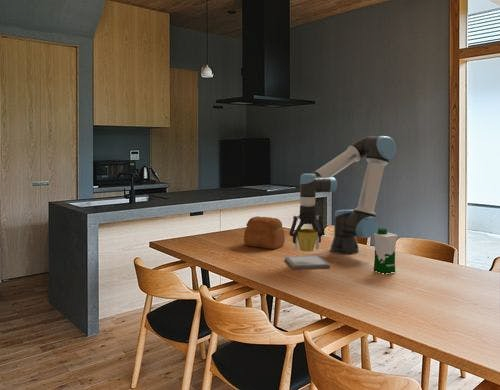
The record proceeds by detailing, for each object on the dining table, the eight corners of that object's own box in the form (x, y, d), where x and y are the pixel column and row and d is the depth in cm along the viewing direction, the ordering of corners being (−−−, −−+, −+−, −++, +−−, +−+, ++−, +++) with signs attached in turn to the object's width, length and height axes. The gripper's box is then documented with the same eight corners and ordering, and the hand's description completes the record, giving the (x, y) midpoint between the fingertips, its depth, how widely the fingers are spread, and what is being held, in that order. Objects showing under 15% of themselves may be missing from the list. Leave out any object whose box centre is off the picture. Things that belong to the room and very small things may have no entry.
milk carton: (384, 268, 215) (385, 227, 212) (398, 273, 207) (400, 230, 204) (370, 270, 211) (371, 229, 208) (384, 275, 203) (386, 232, 200)
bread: (273, 251, 249) (273, 221, 247) (241, 246, 260) (241, 217, 259) (287, 244, 264) (287, 216, 262) (256, 240, 275) (256, 213, 273)
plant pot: (316, 253, 216) (317, 233, 215) (295, 251, 218) (295, 232, 217) (317, 248, 226) (318, 229, 225) (297, 247, 228) (297, 228, 227)
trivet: (318, 258, 233) (318, 255, 233) (329, 267, 216) (329, 264, 215) (285, 259, 231) (285, 256, 230) (293, 269, 213) (293, 266, 213)
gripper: (327, 203, 225) (326, 247, 227) (283, 204, 222) (282, 248, 224) (332, 205, 218) (331, 250, 220) (286, 206, 214) (285, 251, 217)
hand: (306, 249), depth 222 cm, fingers closed on plant pot, 10 cm apart
